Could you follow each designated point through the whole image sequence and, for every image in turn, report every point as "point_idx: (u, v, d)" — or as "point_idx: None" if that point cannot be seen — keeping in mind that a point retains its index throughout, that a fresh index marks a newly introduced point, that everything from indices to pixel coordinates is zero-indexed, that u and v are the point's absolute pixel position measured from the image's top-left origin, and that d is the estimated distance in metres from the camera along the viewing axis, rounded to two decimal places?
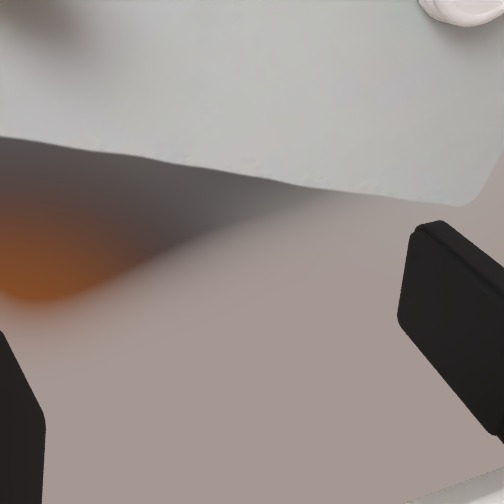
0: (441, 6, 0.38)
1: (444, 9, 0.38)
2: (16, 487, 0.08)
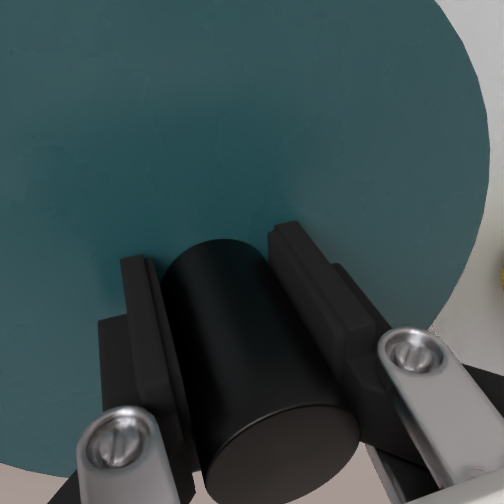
0: None
1: None
2: None
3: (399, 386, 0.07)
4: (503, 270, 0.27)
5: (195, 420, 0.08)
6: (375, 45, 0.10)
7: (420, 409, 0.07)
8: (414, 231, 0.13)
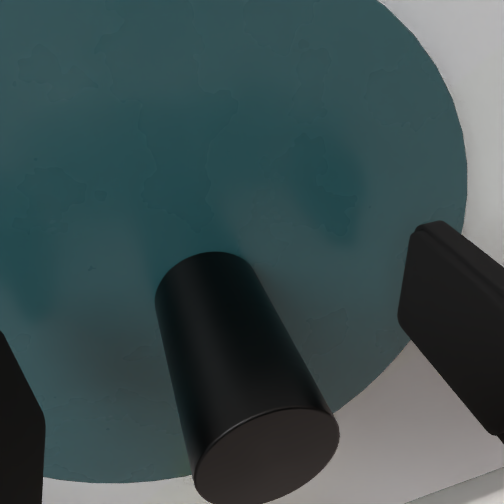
0: None
1: None
2: (16, 487, 0.08)
3: None
4: None
5: (185, 423, 0.09)
6: (354, 71, 0.10)
7: None
8: (397, 242, 0.14)
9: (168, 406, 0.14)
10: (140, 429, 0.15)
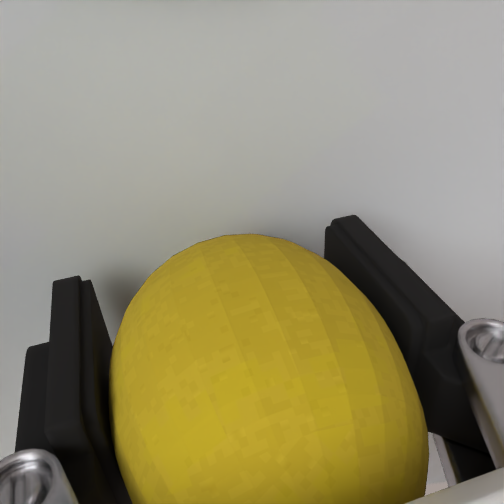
0: None
1: None
2: None
3: (473, 370, 0.08)
4: None
5: None
6: None
7: None
8: None
9: None
10: None
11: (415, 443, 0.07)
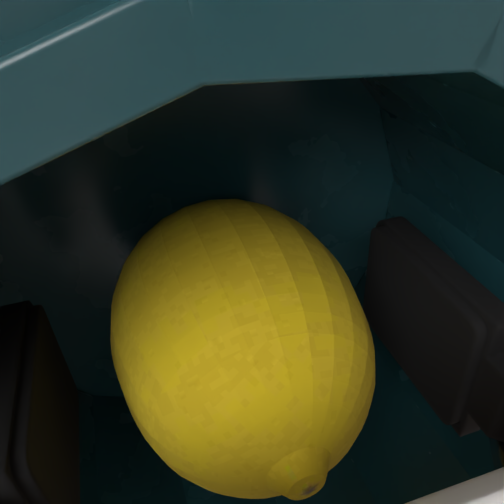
0: None
1: None
2: (60, 448, 0.09)
3: None
4: None
5: None
6: None
7: None
8: None
9: None
10: None
11: (360, 354, 0.08)
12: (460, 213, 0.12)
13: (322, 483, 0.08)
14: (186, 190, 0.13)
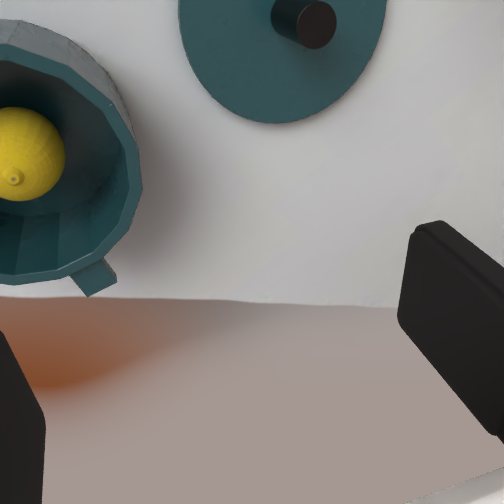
0: None
1: None
2: (16, 487, 0.08)
3: None
4: None
5: (292, 17, 0.30)
6: None
7: None
8: (360, 3, 0.35)
9: (268, 73, 0.36)
10: (256, 84, 0.36)
11: (37, 146, 0.28)
12: None
13: (17, 178, 0.27)
14: None
